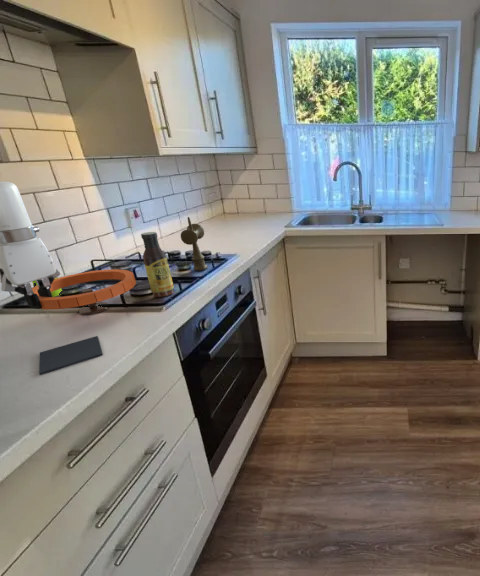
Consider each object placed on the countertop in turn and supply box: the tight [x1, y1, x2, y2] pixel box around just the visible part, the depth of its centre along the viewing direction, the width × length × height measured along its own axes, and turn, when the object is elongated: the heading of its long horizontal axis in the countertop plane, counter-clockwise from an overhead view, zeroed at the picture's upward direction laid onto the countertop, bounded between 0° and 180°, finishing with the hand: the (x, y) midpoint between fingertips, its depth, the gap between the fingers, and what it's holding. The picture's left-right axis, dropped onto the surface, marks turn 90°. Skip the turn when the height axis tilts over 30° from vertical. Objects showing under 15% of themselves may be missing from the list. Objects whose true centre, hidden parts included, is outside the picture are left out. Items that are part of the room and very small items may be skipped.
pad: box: [38, 335, 104, 375], centre depth 84 cm, size 11×11×1 cm
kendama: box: [180, 216, 209, 272], centre depth 132 cm, size 6×10×20 cm, turn 12°
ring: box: [32, 268, 137, 311], centre depth 102 cm, size 24×24×3 cm
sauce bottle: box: [140, 231, 175, 298], centre depth 111 cm, size 7×6×20 cm
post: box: [78, 288, 109, 316], centre depth 105 cm, size 7×7×6 cm
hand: (42, 305), depth 93 cm, fingers closed on ring, 2 cm apart
